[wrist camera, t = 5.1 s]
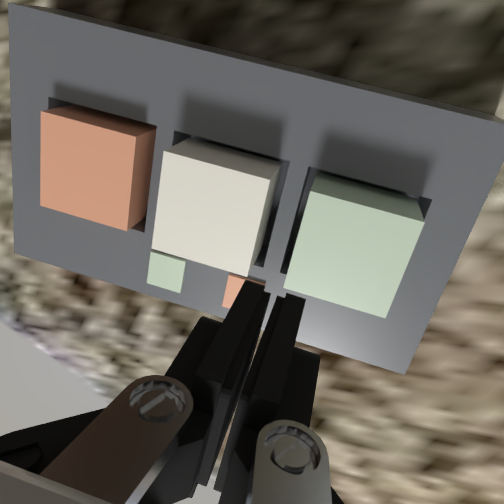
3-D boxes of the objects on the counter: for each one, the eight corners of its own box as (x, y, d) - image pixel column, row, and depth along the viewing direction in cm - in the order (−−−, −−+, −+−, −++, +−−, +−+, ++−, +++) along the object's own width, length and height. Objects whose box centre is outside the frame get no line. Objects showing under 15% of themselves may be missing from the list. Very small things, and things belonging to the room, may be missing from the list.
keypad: (494, 115, 20) (520, 128, 17) (399, 334, 25) (404, 377, 22) (57, 8, 22) (4, 2, 19) (53, 229, 28) (11, 254, 24)
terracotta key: (164, 125, 22) (136, 136, 19) (153, 210, 24) (126, 231, 21) (79, 103, 22) (40, 110, 20) (75, 188, 24) (40, 205, 22)
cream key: (282, 162, 20) (270, 179, 18) (261, 249, 22) (247, 277, 20) (189, 137, 21) (163, 151, 18) (176, 224, 23) (151, 248, 20)
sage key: (416, 198, 20) (424, 222, 17) (382, 285, 22) (385, 318, 19) (317, 172, 20) (310, 191, 18) (292, 258, 22) (283, 287, 20)
